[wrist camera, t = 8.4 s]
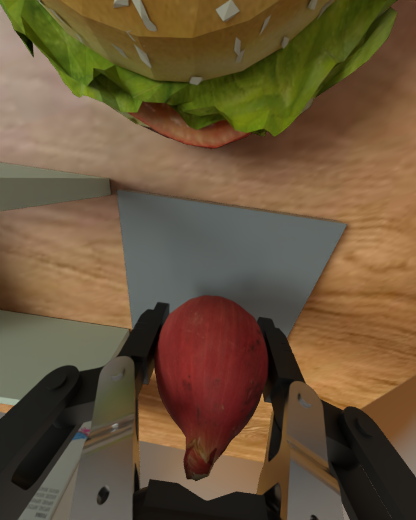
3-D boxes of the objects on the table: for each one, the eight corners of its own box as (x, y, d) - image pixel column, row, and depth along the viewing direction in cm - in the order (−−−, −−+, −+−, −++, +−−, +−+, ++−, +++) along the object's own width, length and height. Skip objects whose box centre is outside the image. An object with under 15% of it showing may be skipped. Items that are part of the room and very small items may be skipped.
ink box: (87, 360, 20) (-63, 565, 9) (126, 369, 20) (25, 577, 10) (90, 394, 24) (-13, 565, 13) (124, 401, 24) (49, 574, 13)
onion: (259, 273, 11) (339, 462, 4) (246, 333, 13) (277, 511, 6) (172, 267, 11) (85, 434, 4) (176, 327, 14) (128, 493, 6)
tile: (138, 333, 17) (134, 342, 16) (125, 189, 11) (116, 189, 10) (271, 353, 17) (273, 362, 16) (336, 220, 11) (347, 224, 10)
